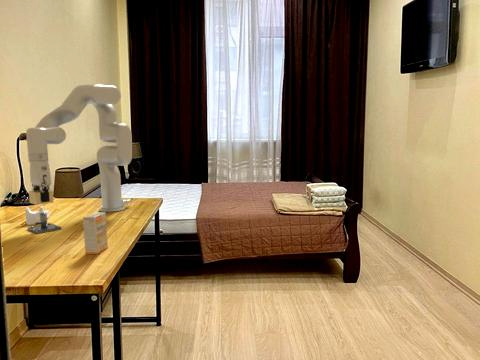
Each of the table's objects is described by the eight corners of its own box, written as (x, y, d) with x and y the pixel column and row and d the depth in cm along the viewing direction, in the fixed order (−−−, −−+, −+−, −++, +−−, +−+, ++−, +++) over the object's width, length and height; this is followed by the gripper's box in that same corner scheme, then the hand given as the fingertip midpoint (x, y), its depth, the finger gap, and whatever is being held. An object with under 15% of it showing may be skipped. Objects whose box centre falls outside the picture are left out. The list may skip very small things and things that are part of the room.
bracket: (43, 224, 213) (42, 207, 212) (26, 225, 212) (25, 208, 211) (49, 217, 226) (48, 201, 225) (33, 218, 225) (31, 202, 224)
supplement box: (98, 254, 165) (95, 217, 163) (84, 254, 166) (82, 216, 164) (108, 247, 173) (106, 211, 171) (96, 247, 174) (93, 211, 172)
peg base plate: (51, 225, 209) (49, 209, 208) (61, 229, 202) (60, 212, 201) (27, 229, 202) (26, 213, 201) (37, 233, 195) (35, 216, 194)
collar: (46, 200, 205) (45, 188, 205) (53, 202, 200) (52, 190, 200) (29, 202, 200) (28, 191, 200) (36, 204, 195) (35, 192, 195)
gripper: (56, 158, 194) (59, 201, 197) (38, 156, 207) (41, 197, 209) (37, 159, 189) (41, 204, 192) (20, 157, 201) (24, 199, 204)
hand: (41, 200), depth 200 cm, fingers closed on collar, 7 cm apart
